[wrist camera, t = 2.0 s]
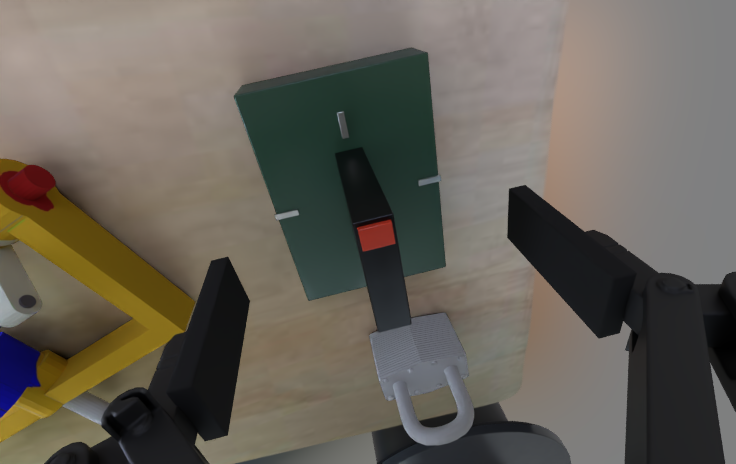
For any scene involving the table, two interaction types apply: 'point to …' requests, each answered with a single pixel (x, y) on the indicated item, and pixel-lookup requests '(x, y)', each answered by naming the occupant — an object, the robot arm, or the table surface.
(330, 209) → the green rectangular block
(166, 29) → the table surface
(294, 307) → the table surface
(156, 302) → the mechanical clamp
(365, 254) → the black bar red tab
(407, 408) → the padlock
